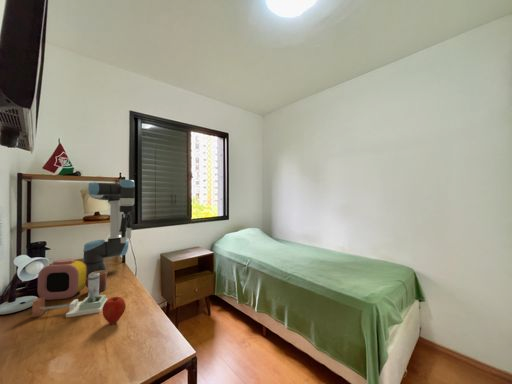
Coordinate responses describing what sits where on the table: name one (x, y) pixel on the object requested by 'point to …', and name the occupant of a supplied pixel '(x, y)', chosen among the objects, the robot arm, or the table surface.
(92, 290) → the silver metal cylinder
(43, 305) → the pin
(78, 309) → the dock
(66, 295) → the alarm clock
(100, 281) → the mug
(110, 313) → the apple
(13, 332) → the table surface
